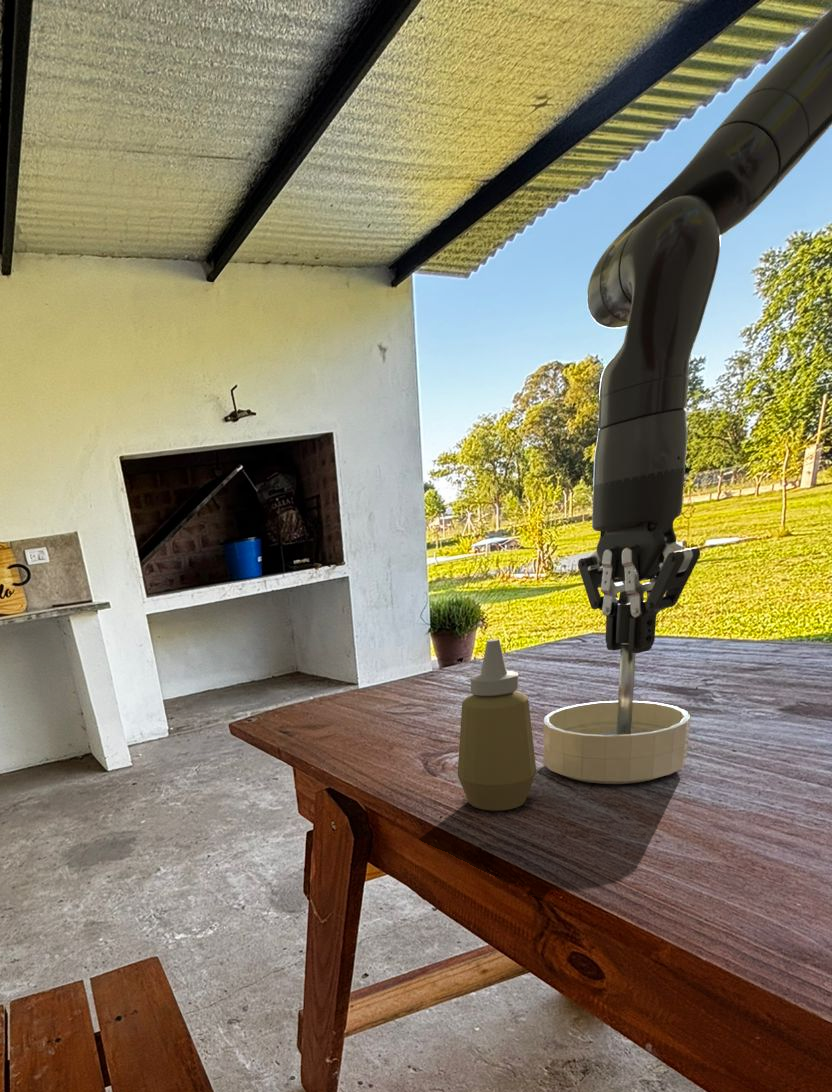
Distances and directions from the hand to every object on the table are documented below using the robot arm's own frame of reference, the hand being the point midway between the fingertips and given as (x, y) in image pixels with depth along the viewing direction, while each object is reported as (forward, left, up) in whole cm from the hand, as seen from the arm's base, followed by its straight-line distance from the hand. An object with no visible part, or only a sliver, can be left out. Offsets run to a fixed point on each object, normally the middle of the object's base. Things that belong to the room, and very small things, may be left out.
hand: (628, 649), depth 66 cm
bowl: (0, -2, -14) cm, 14 cm away
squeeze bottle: (+16, 0, -14) cm, 21 cm away
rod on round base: (0, 0, -11) cm, 11 cm away
